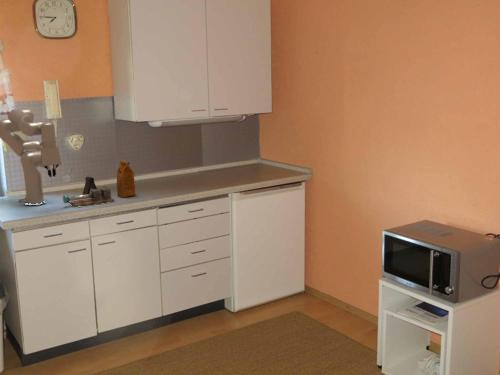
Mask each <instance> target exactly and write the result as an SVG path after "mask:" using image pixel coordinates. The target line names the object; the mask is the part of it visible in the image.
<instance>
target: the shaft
mask: <svg viewBox="0 0 500 375" xmlns="http://www.w3.org/2000/svg"><path fill="white" fill-rule="evenodd" d="M93 197H94V194H91V193H90V194H86V195H83V194H81V195H80V194H79V195H73V196H69V195H63V196H62V199H63V203H64V204H69V202H70V201H77V200H84V199H90V198H93Z"/></svg>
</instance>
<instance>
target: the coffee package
mask: <svg viewBox="0 0 500 375" xmlns="http://www.w3.org/2000/svg"><path fill="white" fill-rule="evenodd" d="M129 165H130V162H128V161H124V160H122V159H121V160H120V162H119V165H118V168H117V171H116V172H117V173H116V191H117V196H119V197H120V198H127V197H133V196H135V195H136V185H135V173H134V171H133V170H132V168H131V167H130V166H129Z"/></svg>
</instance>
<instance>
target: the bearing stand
mask: <svg viewBox="0 0 500 375" xmlns="http://www.w3.org/2000/svg"><path fill="white" fill-rule="evenodd" d="M111 190H112V189H111V188H109V187H100V188H97V189H90V194H94V197H93V198H86V199H79V200H73V201H69V203H70V204H71V205H72V206H74V207H78V206H85V207H87V206H86V205H92V206H95V205H94V204H98V205H102V204H101V203H104V204H108V203H107V202H111V203H115V202H114V201H115V199H114V198H112V191H111ZM69 203H68V204H69ZM71 205H70V206H71ZM72 206H71V207H72ZM74 207H73V208H74Z"/></svg>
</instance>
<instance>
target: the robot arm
mask: <svg viewBox="0 0 500 375" xmlns="http://www.w3.org/2000/svg"><path fill="white" fill-rule="evenodd" d="M34 118H35V117H34V112H33V111H32V110H31V109H29V108H18V109H17V108H16V109H12V110H10V111H9V112H8V114H7V118H3V119H0V139H1V141H3V142H4V143H5V144H7V146H8V147H10V149H11V150H12V151H13V152H14V153H15V155H17V156H18V157H20V159H19V160H20V164H21V166H22V170H23V171H22V172H23V177H24V178H23V179H24V185H25V186H24V188H25V196H24V198H19V199H18V203H23V204H24V203H25V202H26V203H28V204H29V203H31V204H36V203H38V204H40V203H41V202H42V203H44V202H43V201H44V200H45V199H44V192H43V191H44V190H43V180H42V174H41V171H39V169H38V168H39V167H41V168H45V169H46V170H47V175H48V177H50V178H52V177H56V175H57V171H56V170H57V169H58V167H59V166H61V165H62V164H63V163H62V161H61V160H62V159H61V155H60V150H59V149H60V148H59V146H57V142H56V141H57V140H56V130H55V124H54V123H53V122H48V121H35V122H34ZM15 132H17V133H18V132H21V133H22V134H23V135H25V136H28V137H36V136H40V137H41V138H40V139H41V142H40V141H39V140H37V139H27V140H24V139H23V138H22V137H21V136H20V135H19V134H16V133H15ZM51 165H52V170H51ZM46 201H47V200H46ZM46 201H45V202H46Z"/></svg>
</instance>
